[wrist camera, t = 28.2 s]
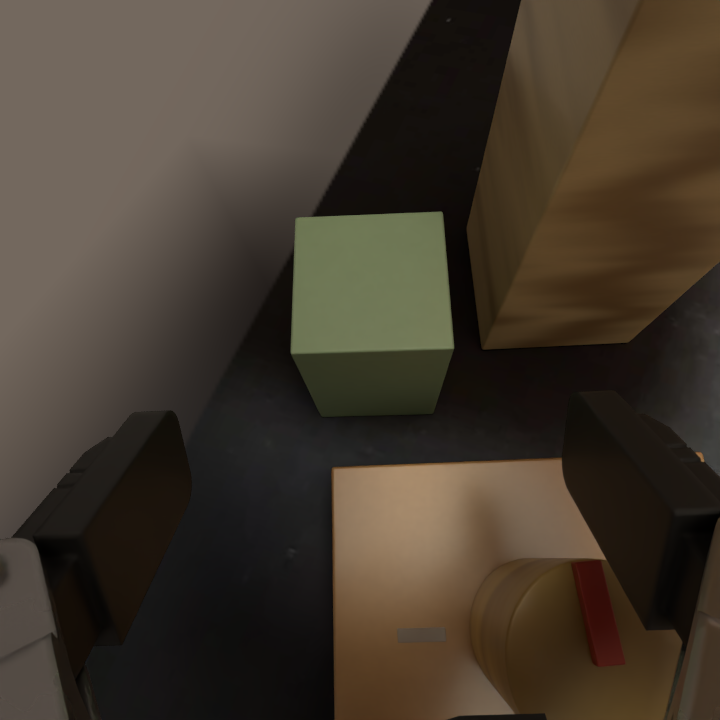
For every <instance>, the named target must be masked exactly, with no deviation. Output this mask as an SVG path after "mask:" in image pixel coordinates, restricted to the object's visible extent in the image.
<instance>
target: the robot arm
mask: <svg viewBox="0 0 720 720" xmlns="http://www.w3.org/2000/svg"><path fill="white" fill-rule="evenodd" d="M562 471H563V477H564V481H565V484H566V487H567V489H568V491H569V493H570V495H571V497H572V498H573V500H574V502H575V504H576V506H577V507H578V509H579V511H580V513H581V515H582V516H583V518H584V520H585V522H586V524H587V525H588V527H589V529H590V531H591V533H592V534H593V536H594V538H595V540H596V542H597V543H598V545H599V547H600V549H601V551H602V552H603V554H604V556H605V558H606V560H607V561H608V563H609V565H610V567H611V569H612V570H613V572H614V574H615V576H616V578H617V579H618V581H619V583H620V585H621V586H622V588H623V590H624V592H625V594H626V595H627V597H628V599H629V601H630V603H631V604H632V606H633V608H634V610H635V612H636V613H637V615H638V617H639V619H640V621H641V622H642V624H643V626H644V628H645V630H646V631H648V630H676V632H677V634H678V635H679V637H680V639H681V640H682V645H681V648H680V652H679V655H678V660H677V664H676V668H675V672H674V677H673V681H672V685H671V689H670V694H669V698H668V702H667V707H666V711H665V715H664V719H663V720H720V477H719V476H718V475H717V474H716V473H715V472H714V471H713V470H712V469H711V468H710V467H709V466H708V465H707V464H706V463H705V462H701V458H700V457H699V456H698V455H697V454H696V453H695V452H694V451H693V450H692V449H691V448H687V444H686V443H685V442H684V441H683V440H682V439H681V438H680V437H679V436H678V435H677V434H676V433H675V432H674V431H673V430H672V429H671V428H670V427H668V426H666V425H664V424H662V423H661V422H659V421H657V420H655V419H653V418H651V417H650V416H648V415H646V414H637V413H636V412H635V411H634V410H633V409H632V408H631V407H630V406H629V405H628V404H627V403H626V402H625V400H624V399H623V398H622V397H621V396H620V395H619V394H618V393H617V392H615V391H613V390H609V391H588V392H574V393H573V394H572V395H571V397H570V400H569V404H568V412H567V420H566V428H565V437H564V445H563V453H562ZM191 487H192V480H191V472H190V468H189V463H188V459H187V455H186V451H185V447H184V442H183V439H182V434H181V430H180V426H179V421H178V418H177V416H176V414H175V413H174V412H173V411H150V412H134V413H132V414H131V415H130V416H129V418H128V419H127V420H126V421H125V422H124V424H123V425H122V426H121V427H120V429H119V430H118V431H117V432H116V434H115V435H114V436H113V437H107V438H106V439H104V440H103V441H102V442H100V443H98V444H97V445H95V446H94V447H92V448H91V449H89V450H88V451H86V452H85V453H84V454H83V455H82V457H80V459H79V460H78V461H77V462H76V463H75V464H74V466H73V467H72V468H71V469H70V473H68V474H66V475H65V476H64V477H63V478H62V480H61V481H60V482H59V483H58V484H57V488H54V489H53V490H52V491H51V492H50V493H49V495H48V496H47V497H46V498H45V499H44V500H43V502H42V503H41V504H40V505H39V506H38V507H37V508H36V510H35V511H34V512H33V513H32V514H31V516H30V517H29V518H28V519H27V520H26V521H25V523H24V524H23V525H22V526H21V527H20V528H19V529H18V531H17V532H16V533H15V534H14V535H13V537H11V538H6V539H0V720H102V719H101V715H100V712H99V708H98V705H97V701H96V697H95V694H94V690H93V686H92V683H91V679H90V675H89V672H88V670H87V668H86V665H85V661H86V659H87V657H88V655H89V654H90V652H91V650H92V648H93V646H115V645H122V644H123V641H124V639H125V637H126V635H127V633H128V631H129V629H130V627H131V624H132V622H133V620H134V618H135V616H136V614H137V612H138V610H139V607H140V605H141V603H142V601H143V599H144V597H145V595H146V593H147V590H148V588H149V586H150V584H151V582H152V580H153V578H154V576H155V573H156V571H157V569H158V567H159V565H160V563H161V561H162V559H163V556H164V554H165V552H166V550H167V548H168V546H169V544H170V542H171V539H172V537H173V535H174V533H175V531H176V529H177V527H178V525H179V522H180V520H181V518H182V516H183V514H184V512H185V510H186V508H187V505H188V503H189V500H190V496H191ZM447 720H547V718H546V715H545V713H538V714H501V715H464V716H457V717H454V718H450V719H447Z"/></svg>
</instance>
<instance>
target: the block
mask: <svg viewBox="0 0 720 720" xmlns="http://www.w3.org/2000/svg"><path fill="white" fill-rule="evenodd" d="M453 350H454V338H453V326H452V315H451V303H450V291H449V279H448V267H447V255H446V243H445V231H444V219H443V213H442V212H422V213H398V214H375V215H351V216H328V217H307V218H305V217H304V218H296V221H295V244H294V271H293V299H292V326H291V355H292V357H293V359H294V361H295V363H296V365H297V367H298V369H299V371H300V373H301V376H302V378H303V380H304V382H305V384H306V386H307V388H308V390H309V392H310V394H311V396H312V398H313V400H314V402H315V405H316V407H317V409H318V411H319V413H320V415H321V417H337V416H376V415H415V414H433V413H434V409H435V406H436V403H437V400H438V397H439V394H440V391H441V388H442V384H443V381H444V378H445V375H446V372H447V369H448V366H449V362H450V359H451V356H452V353H453Z"/></svg>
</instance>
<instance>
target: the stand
mask: <svg viewBox="0 0 720 720" xmlns="http://www.w3.org/2000/svg"><path fill="white" fill-rule="evenodd" d="M467 237H468V245H469V253H470V261H471V269H472V277H473V285H474V293H475V301H476V309H477V317H478V325H479V333H480V340H481V348H482V349H483V350H487V349H507V348H528V347H548V346H568V345H589V344H609V343H628V342H629V341H630V340H632V339H633V338H634V337H635V336H636V335H637V334H638V333H639V332H641V331H642V330H643V329H644V328H645V327H646V326H647V325H648V324H650V323H651V322H652V321H653V320H654V319H655V318H656V317H658V316H659V315H660V314H661V313H662V312H663V311H664V310H665V309H667V308H668V307H669V306H670V305H671V304H672V303H673V302H674V301H676V300H677V299H678V298H679V297H680V296H681V295H682V294H683V293H685V292H686V291H687V290H688V289H689V288H690V287H691V286H692V285H694V284H695V283H696V282H697V281H698V280H699V279H700V278H701V277H703V276H704V275H705V274H706V273H707V272H708V271H709V270H710V269H712V268H713V267H714V266H715V265H716V264H717V263H718V262H720V0H521V4H520V8H519V12H518V16H517V20H516V24H515V29H514V33H513V37H512V41H511V45H510V49H509V54H508V58H507V62H506V66H505V70H504V74H503V79H502V83H501V87H500V91H499V95H498V99H497V104H496V108H495V112H494V116H493V120H492V124H491V129H490V133H489V137H488V141H487V145H486V150H485V154H484V158H483V162H482V166H481V170H480V175H479V179H478V183H477V187H476V191H475V195H474V200H473V204H472V208H471V212H470V216H469V220H468V225H467Z"/></svg>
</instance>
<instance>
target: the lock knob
mask: <svg viewBox="0 0 720 720" xmlns="http://www.w3.org/2000/svg"><path fill="white" fill-rule="evenodd" d="M470 638H471V643H472V648H473V651H474V654H475V657H476V660H477V662H478V664H479V666H480V668H481V670H482V671H483V673H484V675H485V676H486V678H487V679H488V680H489V682H490V683H491V684H492V686H493V687H494V688H495V689H496V691H497V692H498V693H499V694H500V696H501V697H502V698H503V699H504V700H505V702H506V703H507V704H508V705H509V707H510V708H511V709H512V710H513V712H514V713H515V714H538V713H545V715H546V718H547V720H663V719H664V715H665V711H666V707H667V702H668V698H669V694H670V689H671V685H672V681H673V677H674V672H675V668H676V664H677V660H678V655H679V652H680V648H681V645H682V640H681V639H680V637H679V635H678V634H677V632H676V630H648V631H646V630H645V628H644V626H643V624H642V622H641V621H640V619H639V617H638V615H637V613H636V612H635V610H634V608H633V606H632V604H631V603H630V601H629V599H628V597H627V595H626V594H625V592H624V590H623V588H622V586H621V585H620V583H619V581H618V579H617V578H616V576H615V574H614V572H613V570H612V569H611V567H610V565H609V563H608V561H607V560H602V559H591V558H522V559H516V560H513V561H510V562H508V563H506V564H504V565H502V566H500V567H499V568H497V569H496V570H494V571H493V572H492V573H491V574H490V575H489V576H488V577H487V578H486V579H485V580H484V582H483V583H482V585H481V586H480V588H479V589H478V591H477V594H476V596H475V598H474V601H473V605H472V608H471V614H470Z"/></svg>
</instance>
